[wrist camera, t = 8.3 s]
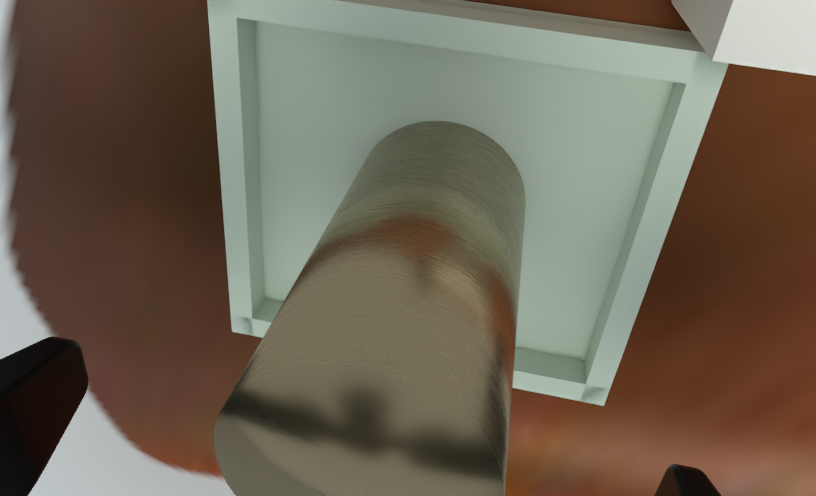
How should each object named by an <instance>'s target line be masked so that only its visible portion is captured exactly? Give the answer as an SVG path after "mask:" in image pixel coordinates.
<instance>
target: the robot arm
mask: <svg viewBox="0 0 816 496" xmlns="http://www.w3.org/2000/svg"><path fill="white" fill-rule="evenodd" d="M87 387H88V375H87V371H86V367H85V363H84V359H83V355H82V350H81V347H80V345H79V344H78V343H77V342H76V341H74V340H69V339H65V338H60V337H48V338H46V339H43V340H41V341H39V342H37V343H35V344H33V345H30V346H28V347H26V348H24V349H22V350H20V351H18V352H15V353H14V354H11V355H9V356H7V357H5V358H3V359H0V496H28V494H29V493H30V491H31V490H32V488H33V487H34V485H35V484H36V482H37V481H38V479H39V477H40V475H41V474H42V472H43V470H44V469H45V467H46V465H47V463H48V461H49V460H50V458H51V456H52V454H53V452H54V450H55V449H56V446H57V445H58V443H59V441H60V439H61V437H62V436H63V434H64V432H65V430H66V428H67V427H68V425H69V423H70V421H71V419H72V417H73V416H74V414H75V412H76V410H77V408H78V406H79V405H80V403H81V401H82V399H83V397H84V395H85V393H86V390H87ZM654 496H721V495H720V493H719V492H718V491H717V489H716V488H715V487H714V485H713V484H712V483H711V481H710V480H709V479H708V477H707V476H706V475H705V474H704V473H703V472H702V471H701V470H699V469H697V468H692V467H688V466H683V465H678V464H672V465H670V466H669V467H668V469H667V470H666V472H665V474H664V476H663V479H662V481H661V483H660V485H659V487H658V489H657V491H656V493H655V495H654Z"/></svg>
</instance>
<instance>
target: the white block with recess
mask: <svg viewBox="0 0 816 496" xmlns="http://www.w3.org/2000/svg"><path fill="white" fill-rule="evenodd" d="M671 3H672V4H673V6H674V7H675V9H676V10H677V11H678V13H679V14H680V16H681V17H682V19H683V20H684V21H685V23H686V24H687V26H688V27H689V29H690V30H691V31H692V33H693V34H694V36H695V37H696V39H697V40H698V41H699V43H700V44H701V46H702V47H703V49H704V50H705V52H706V53H707V54H708V56H709V57H710V59H711V60H712V61H716V62H723V63H730V64H737V65H744V66H751V67H758V68H765V69H772V70H779V71H786V72H793V73H800V74H807V75H814V76H816V0H671Z"/></svg>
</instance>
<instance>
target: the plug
mask: <svg viewBox="0 0 816 496" xmlns="http://www.w3.org/2000/svg"><path fill="white" fill-rule="evenodd" d="M525 208H526V195H525V189H524V184H523V181H522V178H521V175H520V173H519V171H518V169H517V167H516V165H515V163H514V162H513V160H512V159H511V157H510V156H509V155H508V154H507V153H506V151H505V150H504V149H503V148H502V147H501V146H500V145H499V144H497V143H496V142H495V141H494V140H493V139H491V138H490V137H488V136H487V135H485V134H484V133H482V132H480V131H478V130H476V129H474V128H471V127H468V126H465V125H462V124H458V123H454V122H447V121H425V122H418V123H414V124H410V125H407V126H404V127H402V128H400V129H397V130H395V131H394V132H392V133H390V134H389V135H387V136H386V137H385V138H383V139H382V140H381V141H380V142H379V143H378V144H377V145H376V146H375V147H374V148H373V149H372V150H371V152H370V153H369V155H368V156H367V158H366V160H365V161H364V163H363V165H362V167H361V168H360V170H359V172H358V174H357V175H356V177H355V179H354V180H353V182H352V184H351V186H350V187H349V189H348V191H347V193H346V194H345V196H344V198H343V200H342V201H341V203H340V205H339V207H338V208H337V210H336V212H335V214H334V215H333V217H332V219H331V220H330V222H329V224H328V226H327V227H326V229H325V231H324V233H323V234H322V236H321V238H320V240H319V241H318V243H317V245H316V247H315V248H314V250H313V252H312V253H311V255H310V257H309V259H308V260H307V262H306V264H305V266H304V267H303V269H302V271H301V273H300V274H299V276H298V278H297V280H296V281H295V283H294V285H293V286H292V288H291V290H290V292H289V293H288V295H287V297H286V299H285V300H284V302H283V304H282V306H281V307H280V309H279V311H278V313H277V314H276V316H275V318H274V320H273V321H272V323H271V325H270V326H269V328H268V330H267V332H266V333H265V335H264V337H263V339H262V340H261V342H260V344H259V346H258V347H257V349H256V351H255V353H254V354H253V356H252V358H251V359H250V361H249V363H248V365H247V366H246V368H245V370H244V372H243V373H242V375H241V377H240V379H239V380H238V382H237V384H236V386H235V387H234V389H233V391H232V392H231V394H230V396H229V398H228V399H227V401H226V403H225V405H224V406H223V408H222V410H221V412H220V414H219V417H218V419H217V422H216V426H215V432H214V449H215V454H216V459H217V462H218V465H219V468H220V470H221V473H222V475H223V476H224V478H225V480H226V482H227V484H228V485H229V487H230V488H231V489H232V491H233V492H234V494H235V495H236V496H504V495H505V481H506V468H507V454H508V440H509V427H510V413H511V399H512V386H513V372H514V358H515V345H516V331H517V317H518V303H519V290H520V276H521V262H522V249H523V235H524V221H525Z"/></svg>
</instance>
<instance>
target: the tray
mask: <svg viewBox="0 0 816 496" xmlns="http://www.w3.org/2000/svg"><path fill="white" fill-rule="evenodd" d="M207 5H208V18H209V32H210V45H211V58H212V72H213V85H214V99H215V112H216V125H217V139H218V152H219V165H220V179H221V192H222V205H223V219H224V232H225V245H226V259H227V272H228V286H229V299H230V312H231V326H232V332H237V333H242V334H247V335H252V336H257V337H262V338H263V337H264V335H265V333H266V332H267V330H268V328H269V326H270V325H271V323H272V321H273V320H274V318H275V316H276V314H277V313H278V311H279V309H280V307H281V306H282V304H283V302H284V300H285V299H286V297H287V295H288V293H289V292H290V290H291V288H292V286H293V285H294V283H295V281H296V280H297V278H298V276H299V274H300V273H301V271H302V269H303V267H304V266H305V264H306V262H307V260H308V259H309V257H310V255H311V253H312V252H313V250H314V248H315V247H316V245H317V243H318V241H319V240H320V238H321V236H322V234H323V233H324V231H325V229H326V227H327V226H328V224H329V222H330V220H331V219H332V217H333V215H334V214H335V212H336V210H337V208H338V207H339V205H340V203H341V201H342V200H343V198H344V196H345V194H346V193H347V191H348V189H349V187H350V186H351V184H352V182H353V180H354V179H355V177H356V175H357V174H358V172H359V170H360V168H361V167H362V165H363V163H364V161H365V160H366V158H367V156H368V155H369V153H370V152H371V150H372V149H373V148H374V147H375V146H376V145H377V144H378V143H379V142H380V141H381V140H382V139H383V138H385V137H386V136H387V135H389V134H390V133H392V132H394V131H395V130H397V129H400V128H402V127H404V126H407V125H410V124H414V123H418V122H425V121H447V122H454V123H458V124H462V125H465V126H468V127H471V128H474V129H476V130H478V131H480V132H482V133H484V134H485V135H487V136H488V137H490V138H491V139H493V140H494V141H495V142H496V143H497V144H499V145H500V146H501V147H502V148H503V149H504V150H505V151H506V153H507V154H508V155H509V156H510V157H511V159H512V160H513V162H514V163H515V165H516V167H517V169H518V171H519V173H520V175H521V178H522V181H523V184H524V189H525V195H526V208H525V221H524V235H523V249H522V262H521V276H520V290H519V303H518V317H517V331H516V345H515V358H514V372H513V386H512V388H516V389H521V390H526V391H531V392H536V393H541V394H546V395H551V396H556V397H561V398H566V399H571V400H576V401H581V402H586V403H591V404H596V405H601V406H604V404H605V401H606V399H607V396H608V393H609V390H610V388H611V385H612V382H613V379H614V377H615V374H616V371H617V369H618V366H619V363H620V360H621V358H622V355H623V352H624V349H625V347H626V344H627V341H628V338H629V336H630V333H631V330H632V327H633V325H634V322H635V319H636V317H637V314H638V311H639V308H640V306H641V303H642V300H643V297H644V295H645V292H646V289H647V286H648V284H649V281H650V278H651V275H652V273H653V270H654V267H655V265H656V262H657V259H658V256H659V254H660V251H661V248H662V245H663V243H664V240H665V237H666V234H667V232H668V229H669V226H670V223H671V221H672V218H673V215H674V213H675V210H676V207H677V204H678V202H679V199H680V196H681V193H682V191H683V188H684V185H685V182H686V180H687V177H688V174H689V171H690V169H691V166H692V163H693V161H694V158H695V155H696V152H697V150H698V147H699V144H700V141H701V139H702V136H703V133H704V130H705V128H706V125H707V122H708V119H709V117H710V114H711V111H712V109H713V106H714V103H715V100H716V98H717V95H718V92H719V89H720V87H721V84H722V81H723V78H724V76H725V73H726V70H727V67H728V65H729V63H723V62H716V61H712V60H711V59H710V57H709V56H708V54H707V53H706V52H705V50H704V49H703V47H702V46H701V44H700V43H699V41H698V40H697V39H696V37H695V36H694V34H693V33H692V32H689V31H681V30H674V29H667V28H660V27H653V26H645V25H638V24H631V23H624V22H616V21H609V20H602V19H595V18H587V17H580V16H573V15H566V14H558V13H551V12H544V11H537V10H530V9H522V8H515V7H508V6H501V5H493V4H486V3H479V2H472V1H464V0H207Z"/></svg>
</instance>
